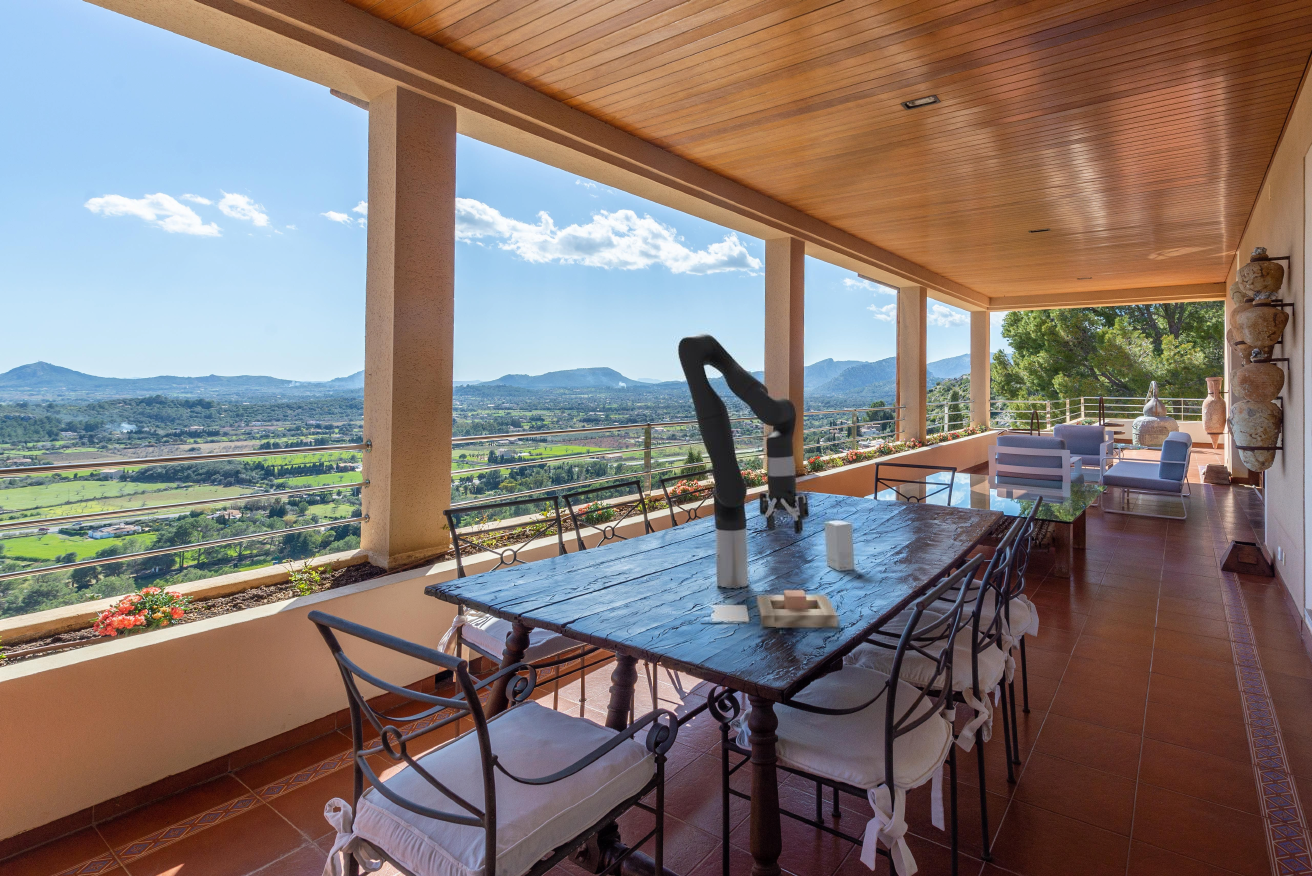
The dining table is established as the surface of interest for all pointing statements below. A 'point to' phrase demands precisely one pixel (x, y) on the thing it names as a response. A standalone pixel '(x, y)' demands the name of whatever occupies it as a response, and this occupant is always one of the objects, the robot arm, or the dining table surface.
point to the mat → (730, 613)
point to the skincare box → (839, 545)
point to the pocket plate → (796, 612)
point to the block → (795, 599)
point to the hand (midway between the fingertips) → (784, 531)
